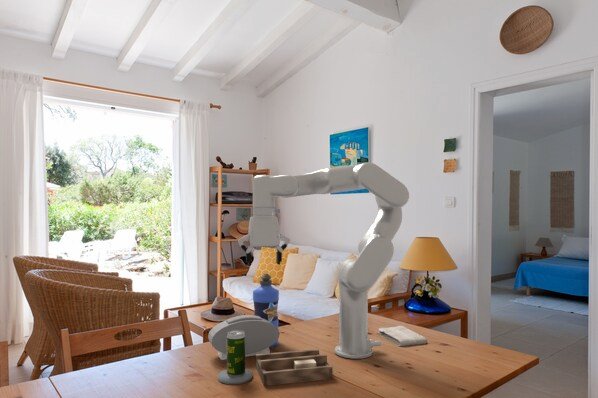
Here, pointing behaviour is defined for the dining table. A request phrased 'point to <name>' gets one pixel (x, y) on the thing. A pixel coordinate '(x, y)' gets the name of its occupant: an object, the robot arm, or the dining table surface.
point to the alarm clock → (256, 334)
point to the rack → (292, 367)
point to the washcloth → (401, 336)
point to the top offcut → (304, 363)
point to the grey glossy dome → (226, 379)
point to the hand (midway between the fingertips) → (264, 264)
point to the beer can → (236, 353)
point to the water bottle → (266, 301)
